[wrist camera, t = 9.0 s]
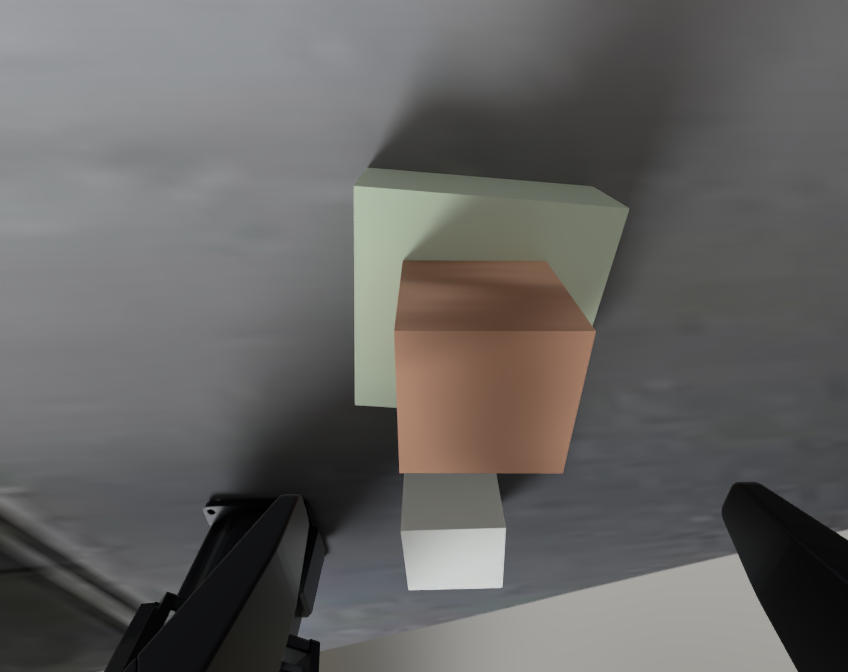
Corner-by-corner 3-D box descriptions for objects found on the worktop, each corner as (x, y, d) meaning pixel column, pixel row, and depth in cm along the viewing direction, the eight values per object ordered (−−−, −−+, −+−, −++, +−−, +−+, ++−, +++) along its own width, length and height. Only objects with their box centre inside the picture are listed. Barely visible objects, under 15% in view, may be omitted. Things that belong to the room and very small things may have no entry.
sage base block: (366, 354, 22) (354, 405, 18) (368, 165, 17) (353, 185, 14) (542, 366, 22) (563, 418, 18) (589, 184, 17) (629, 208, 14)
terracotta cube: (405, 377, 17) (399, 473, 13) (402, 260, 15) (394, 330, 11) (528, 377, 17) (562, 473, 13) (546, 260, 15) (595, 331, 11)
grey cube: (411, 510, 27) (408, 590, 23) (405, 453, 25) (400, 530, 20) (490, 507, 27) (502, 587, 23) (492, 450, 25) (506, 527, 20)
